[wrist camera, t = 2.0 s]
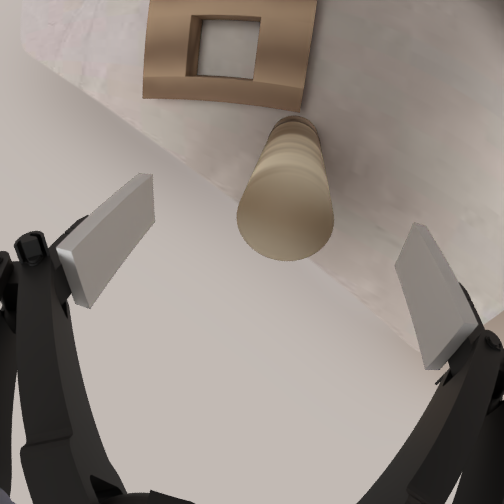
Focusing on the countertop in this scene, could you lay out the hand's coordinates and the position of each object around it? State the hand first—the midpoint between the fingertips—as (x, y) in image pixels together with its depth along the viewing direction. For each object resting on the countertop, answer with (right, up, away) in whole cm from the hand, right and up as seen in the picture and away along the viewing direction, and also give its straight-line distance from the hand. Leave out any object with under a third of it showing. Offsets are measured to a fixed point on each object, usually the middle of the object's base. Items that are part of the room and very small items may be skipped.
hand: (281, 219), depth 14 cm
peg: (+3, +9, +12) cm, 15 cm away
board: (-3, +19, +6) cm, 20 cm away
